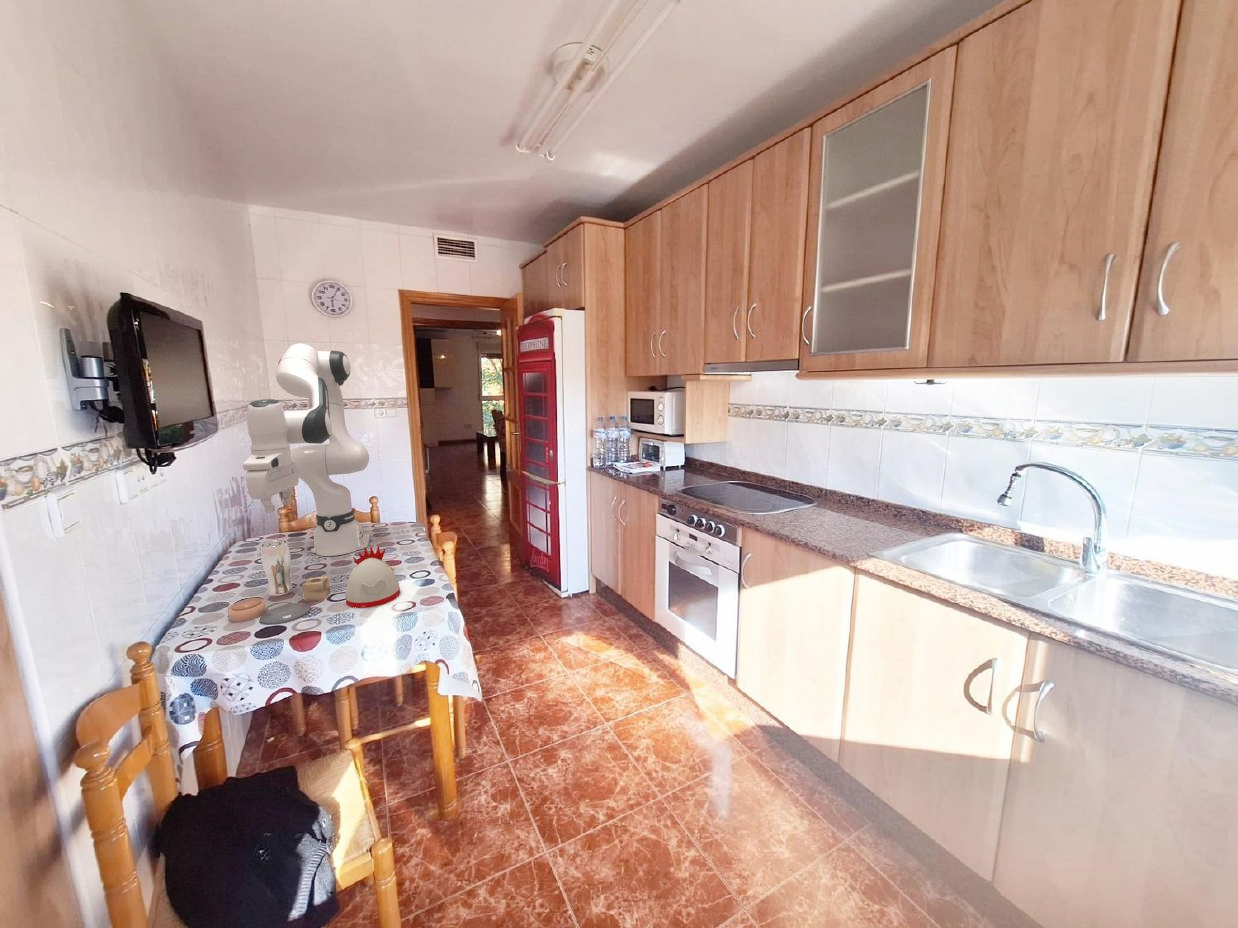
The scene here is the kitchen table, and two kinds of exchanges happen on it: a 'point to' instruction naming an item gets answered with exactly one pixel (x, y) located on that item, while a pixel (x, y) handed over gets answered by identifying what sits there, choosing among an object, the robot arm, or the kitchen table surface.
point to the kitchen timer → (371, 581)
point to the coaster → (285, 613)
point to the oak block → (316, 588)
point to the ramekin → (246, 610)
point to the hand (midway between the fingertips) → (278, 507)
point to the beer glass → (277, 566)
